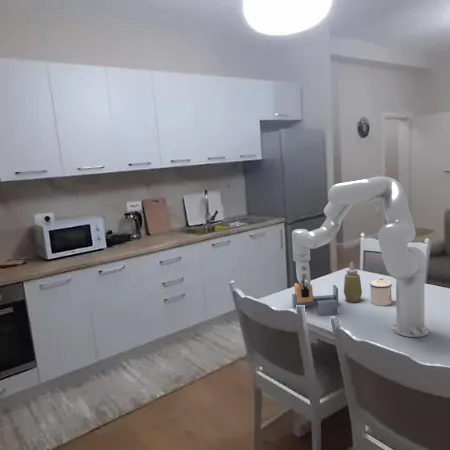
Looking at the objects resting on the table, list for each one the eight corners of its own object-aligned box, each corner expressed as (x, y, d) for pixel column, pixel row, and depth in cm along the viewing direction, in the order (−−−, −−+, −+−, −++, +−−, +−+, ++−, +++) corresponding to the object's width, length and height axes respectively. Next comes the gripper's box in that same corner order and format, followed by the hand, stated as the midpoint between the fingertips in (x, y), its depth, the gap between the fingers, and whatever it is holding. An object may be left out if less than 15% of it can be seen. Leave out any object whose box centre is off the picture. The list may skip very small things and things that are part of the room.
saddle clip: (312, 301, 184) (312, 286, 183) (297, 302, 184) (296, 287, 183) (310, 296, 190) (309, 282, 189) (295, 297, 191) (294, 283, 190)
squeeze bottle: (365, 299, 190) (364, 261, 188) (357, 304, 185) (356, 265, 182) (348, 296, 196) (347, 259, 193) (340, 301, 190) (339, 263, 187)
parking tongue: (337, 314, 175) (337, 301, 174) (318, 315, 175) (318, 303, 175) (335, 311, 178) (335, 299, 177) (317, 312, 178) (316, 300, 178)
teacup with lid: (395, 305, 180) (394, 279, 178) (373, 306, 180) (372, 281, 179) (386, 296, 191) (386, 272, 190) (366, 297, 192) (365, 273, 190)
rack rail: (338, 305, 185) (337, 288, 184) (293, 308, 186) (292, 291, 184) (333, 298, 194) (332, 282, 193) (290, 301, 195) (290, 285, 194)
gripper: (313, 260, 176) (315, 299, 178) (306, 251, 193) (308, 287, 195) (296, 262, 176) (298, 300, 179) (290, 253, 193) (292, 288, 196)
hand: (303, 293), depth 187 cm, fingers open, 9 cm apart
